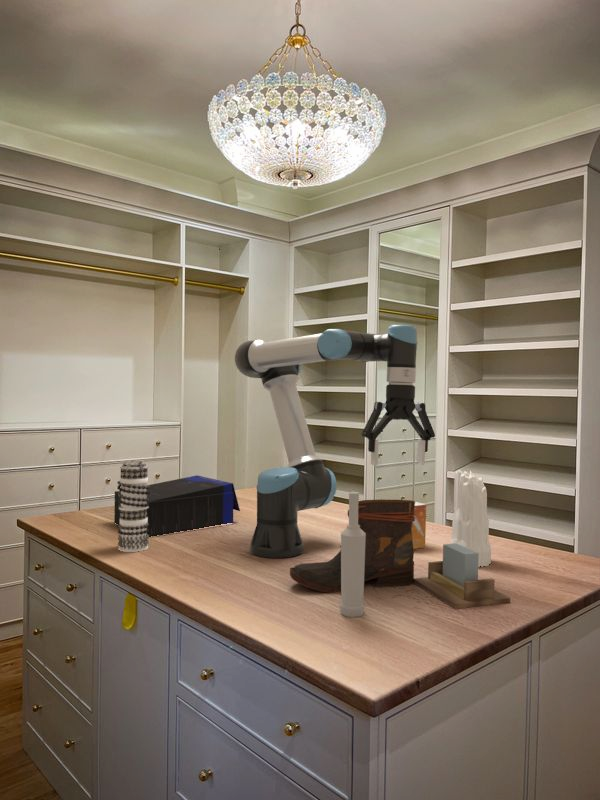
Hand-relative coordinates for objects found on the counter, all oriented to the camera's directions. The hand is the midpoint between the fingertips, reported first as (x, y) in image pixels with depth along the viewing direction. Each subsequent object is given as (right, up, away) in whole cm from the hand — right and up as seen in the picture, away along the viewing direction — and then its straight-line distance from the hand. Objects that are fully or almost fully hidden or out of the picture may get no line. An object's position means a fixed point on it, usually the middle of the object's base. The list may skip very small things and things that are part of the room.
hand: (397, 464), depth 157 cm
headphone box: (-68, -26, +47) cm, 86 cm away
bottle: (-15, -27, -34) cm, 46 cm away
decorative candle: (-74, -26, +14) cm, 80 cm away
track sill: (+11, -27, -20) cm, 36 cm away
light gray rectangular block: (+11, -26, -20) cm, 35 cm away
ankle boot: (-13, -27, -14) cm, 34 cm away
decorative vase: (+21, -27, +5) cm, 35 cm away
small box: (+6, -27, +20) cm, 34 cm away
